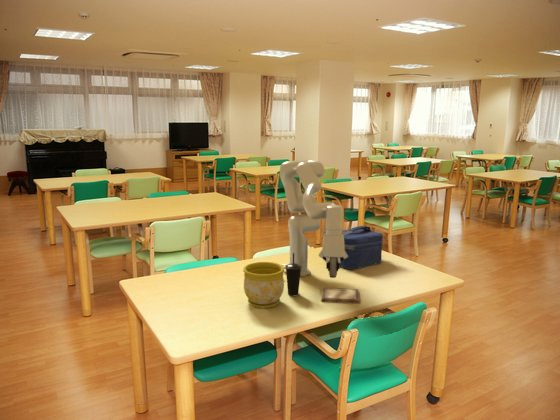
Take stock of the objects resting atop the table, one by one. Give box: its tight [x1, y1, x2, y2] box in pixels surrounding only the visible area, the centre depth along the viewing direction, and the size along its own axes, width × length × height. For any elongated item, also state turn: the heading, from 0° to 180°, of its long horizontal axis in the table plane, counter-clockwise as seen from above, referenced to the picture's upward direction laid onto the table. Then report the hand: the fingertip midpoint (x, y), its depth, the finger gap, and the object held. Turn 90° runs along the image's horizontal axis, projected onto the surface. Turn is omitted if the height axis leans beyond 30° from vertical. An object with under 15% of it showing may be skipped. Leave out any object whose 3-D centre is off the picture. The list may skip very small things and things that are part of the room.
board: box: [321, 287, 361, 304], centre depth 204 cm, size 17×14×2 cm
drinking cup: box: [285, 253, 302, 297], centre depth 205 cm, size 8×8×20 cm
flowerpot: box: [242, 261, 285, 309], centre depth 195 cm, size 18×18×16 cm
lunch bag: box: [337, 225, 384, 270], centre depth 253 cm, size 31×21×20 cm
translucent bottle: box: [328, 257, 338, 279], centre depth 204 cm, size 4×4×13 cm
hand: (333, 270), depth 205 cm, fingers closed on translucent bottle, 3 cm apart
